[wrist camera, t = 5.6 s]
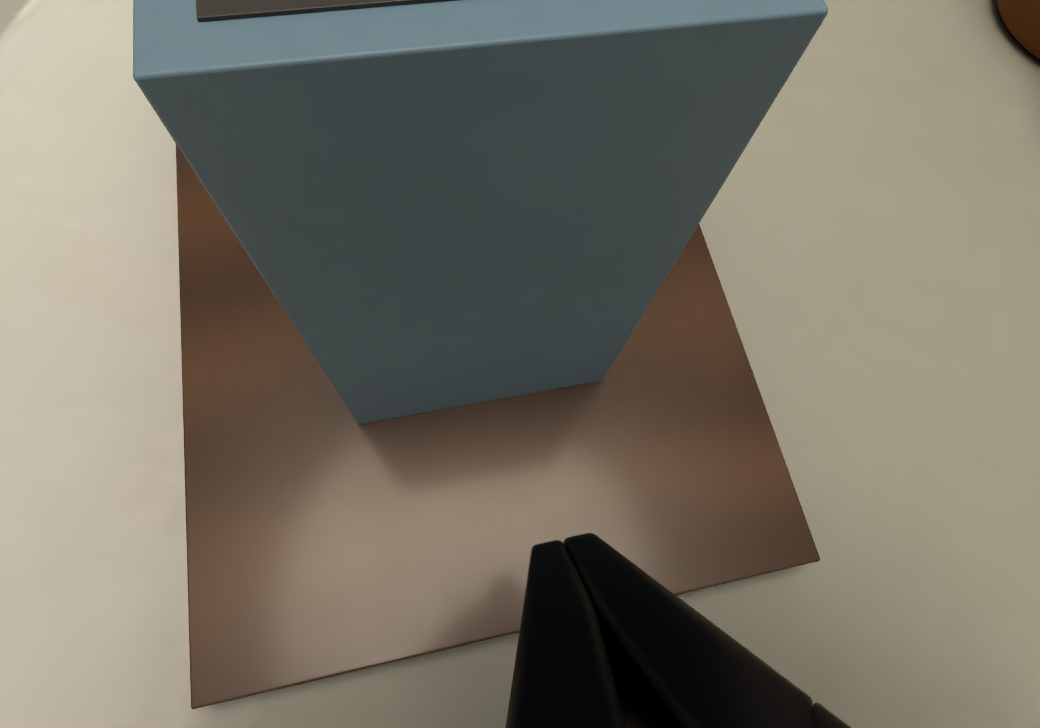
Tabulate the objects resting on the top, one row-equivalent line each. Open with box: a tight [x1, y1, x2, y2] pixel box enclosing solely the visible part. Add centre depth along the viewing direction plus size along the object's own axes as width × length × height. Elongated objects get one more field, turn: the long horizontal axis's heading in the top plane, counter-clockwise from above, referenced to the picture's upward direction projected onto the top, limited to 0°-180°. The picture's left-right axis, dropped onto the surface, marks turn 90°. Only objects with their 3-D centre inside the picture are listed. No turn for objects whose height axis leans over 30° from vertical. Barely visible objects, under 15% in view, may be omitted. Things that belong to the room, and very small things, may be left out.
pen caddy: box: [133, 0, 828, 424], centre depth 13 cm, size 9×7×13 cm
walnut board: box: [176, 144, 820, 709], centre depth 19 cm, size 22×16×1 cm
